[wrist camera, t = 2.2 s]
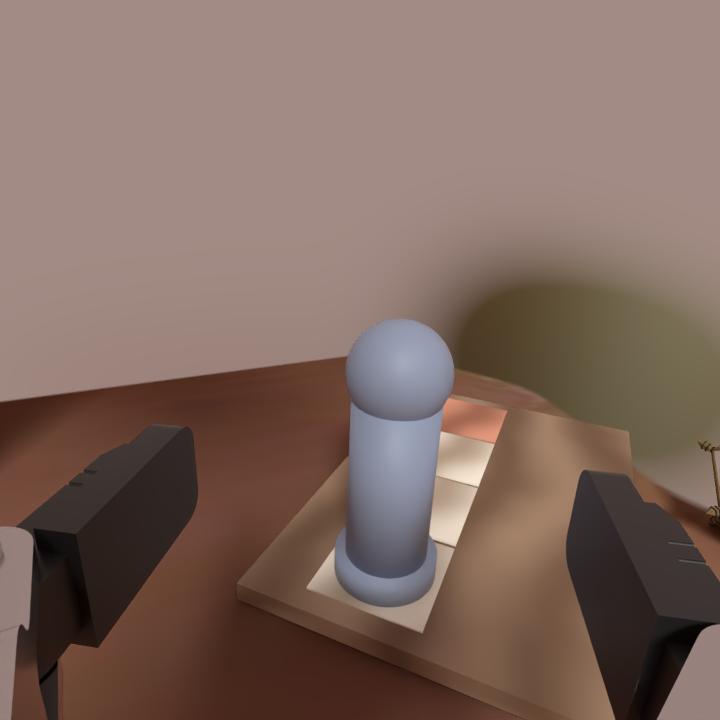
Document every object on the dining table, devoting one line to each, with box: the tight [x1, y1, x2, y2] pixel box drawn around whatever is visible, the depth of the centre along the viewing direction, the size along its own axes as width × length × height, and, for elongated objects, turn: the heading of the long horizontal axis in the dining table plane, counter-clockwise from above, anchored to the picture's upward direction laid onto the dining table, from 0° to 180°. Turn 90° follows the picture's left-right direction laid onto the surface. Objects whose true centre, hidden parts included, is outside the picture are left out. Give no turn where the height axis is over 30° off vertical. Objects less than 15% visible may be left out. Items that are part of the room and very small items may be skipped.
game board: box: [236, 394, 634, 720], centre depth 33 cm, size 18×26×1 cm
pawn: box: [334, 319, 454, 607], centre depth 24 cm, size 5×5×13 cm
